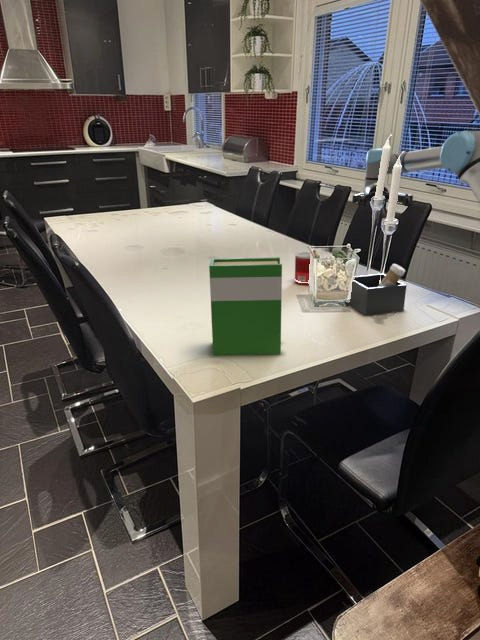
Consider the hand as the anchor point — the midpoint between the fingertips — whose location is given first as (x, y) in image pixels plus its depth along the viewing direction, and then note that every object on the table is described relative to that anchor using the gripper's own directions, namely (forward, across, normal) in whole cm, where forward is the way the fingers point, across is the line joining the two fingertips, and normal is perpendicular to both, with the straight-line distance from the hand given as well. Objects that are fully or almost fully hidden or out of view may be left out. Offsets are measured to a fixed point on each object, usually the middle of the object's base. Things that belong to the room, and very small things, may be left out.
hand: (385, 202), depth 154 cm
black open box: (+13, +3, -32) cm, 35 cm away
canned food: (-12, +25, -32) cm, 43 cm away
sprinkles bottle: (+13, +2, -30) cm, 33 cm away
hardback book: (+50, +40, -32) cm, 72 cm away
